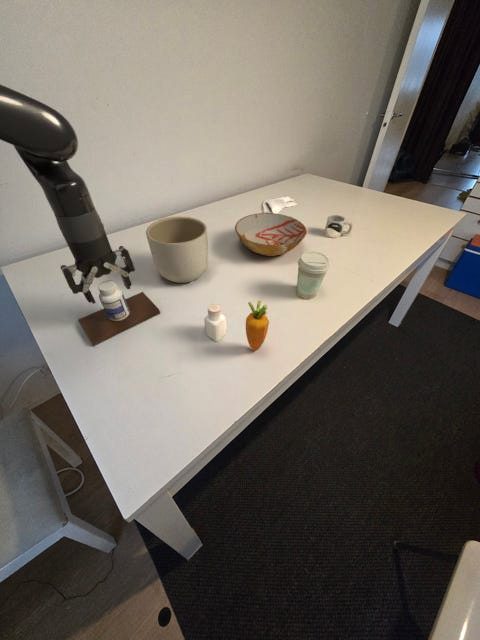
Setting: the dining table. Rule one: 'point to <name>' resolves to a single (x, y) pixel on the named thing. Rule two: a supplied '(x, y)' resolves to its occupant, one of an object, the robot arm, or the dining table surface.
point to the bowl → (270, 233)
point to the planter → (179, 248)
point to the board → (104, 328)
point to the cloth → (277, 204)
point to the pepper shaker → (215, 322)
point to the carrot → (256, 326)
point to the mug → (336, 226)
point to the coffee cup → (311, 273)
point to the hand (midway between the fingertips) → (110, 294)
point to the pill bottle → (113, 301)
